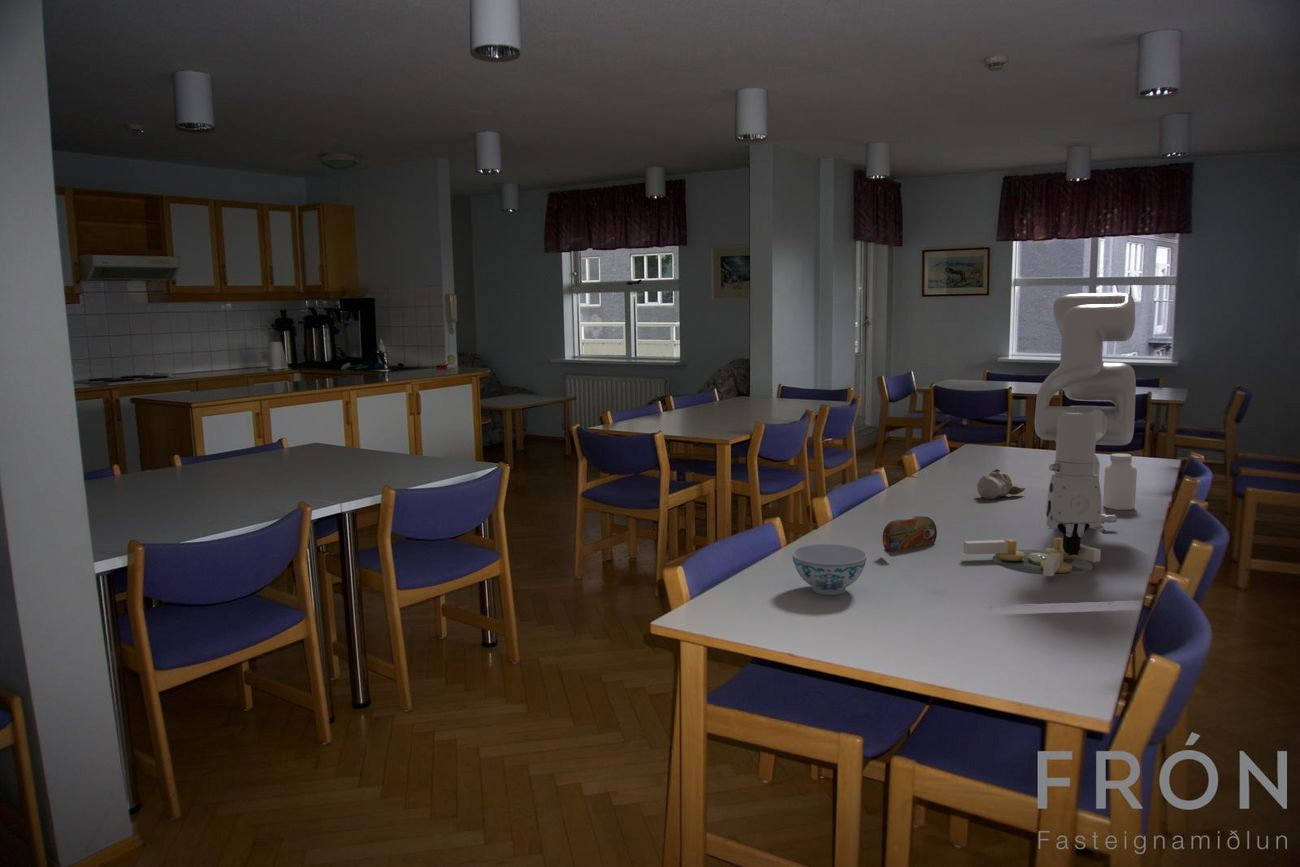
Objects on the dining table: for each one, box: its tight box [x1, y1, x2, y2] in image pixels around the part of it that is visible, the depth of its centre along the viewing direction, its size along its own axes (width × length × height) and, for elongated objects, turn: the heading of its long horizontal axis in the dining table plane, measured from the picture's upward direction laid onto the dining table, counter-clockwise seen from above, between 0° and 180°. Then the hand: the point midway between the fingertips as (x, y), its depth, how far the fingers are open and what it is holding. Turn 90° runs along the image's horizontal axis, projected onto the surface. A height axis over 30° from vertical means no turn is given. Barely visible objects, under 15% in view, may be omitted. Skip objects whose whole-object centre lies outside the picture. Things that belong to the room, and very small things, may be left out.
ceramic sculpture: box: [976, 469, 1026, 500], centre depth 269 cm, size 11×9×15 cm
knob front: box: [1040, 550, 1072, 577], centre depth 185 cm, size 13×6×4 cm, turn 147°
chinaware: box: [791, 543, 868, 596], centre depth 183 cm, size 15×15×8 cm
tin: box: [882, 515, 938, 553], centre depth 210 cm, size 15×3×8 cm, turn 117°
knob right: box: [1044, 536, 1102, 563], centre depth 195 cm, size 13×6×4 cm, turn 21°
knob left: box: [963, 538, 1025, 561], centre depth 198 cm, size 13×6×4 cm, turn 92°
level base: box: [992, 549, 1093, 576], centre depth 195 cm, size 20×20×3 cm
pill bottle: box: [1102, 452, 1138, 511], centre depth 250 cm, size 8×8×15 cm
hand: (1071, 553), depth 192 cm, fingers closed
